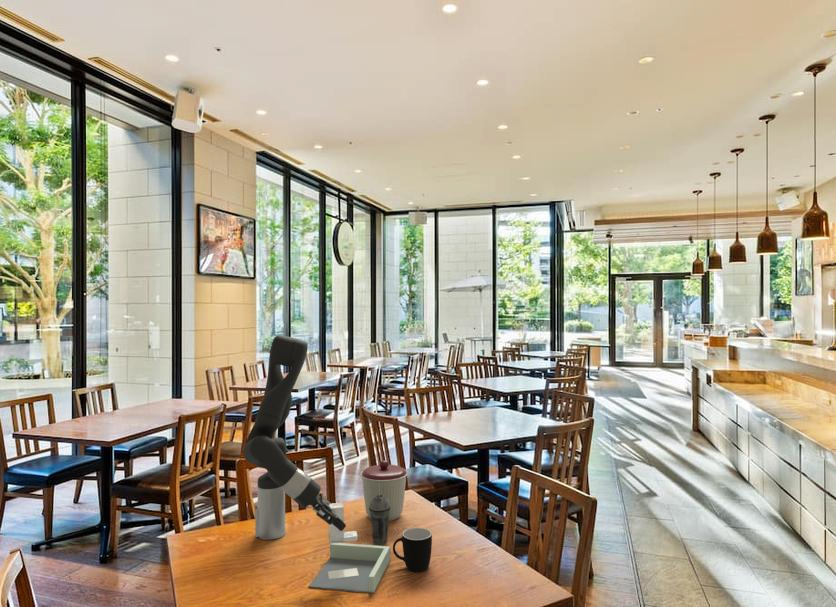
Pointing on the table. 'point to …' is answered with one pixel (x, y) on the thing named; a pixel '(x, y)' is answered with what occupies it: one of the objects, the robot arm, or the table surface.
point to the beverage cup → (379, 518)
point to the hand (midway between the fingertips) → (342, 525)
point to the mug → (416, 548)
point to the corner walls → (364, 558)
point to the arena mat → (345, 575)
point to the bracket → (334, 532)
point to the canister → (385, 486)
